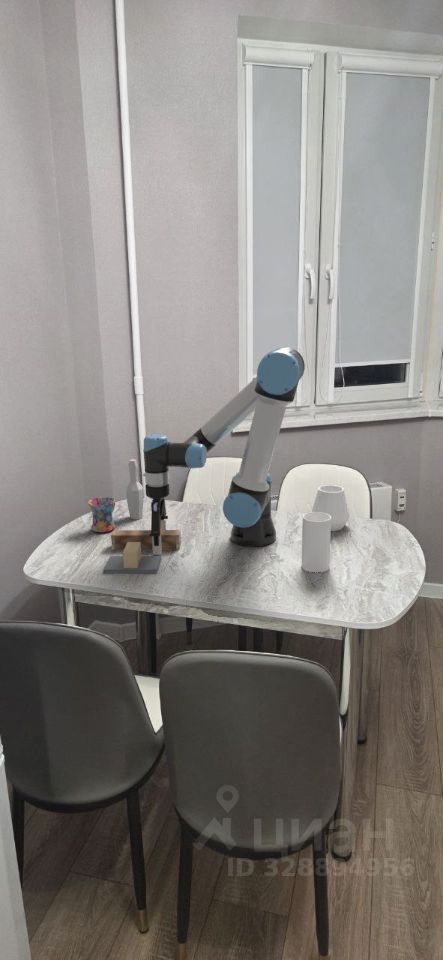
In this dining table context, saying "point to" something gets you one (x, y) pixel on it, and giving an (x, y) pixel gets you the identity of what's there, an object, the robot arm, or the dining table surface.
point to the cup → (316, 542)
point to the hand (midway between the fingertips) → (159, 546)
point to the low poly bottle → (134, 492)
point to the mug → (102, 514)
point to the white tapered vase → (332, 505)
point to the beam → (145, 539)
